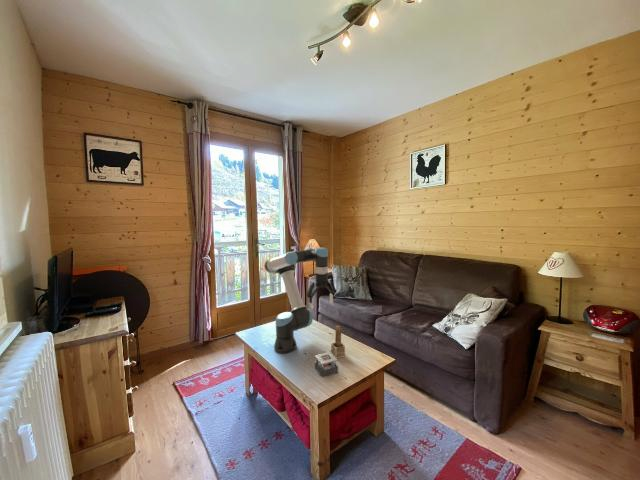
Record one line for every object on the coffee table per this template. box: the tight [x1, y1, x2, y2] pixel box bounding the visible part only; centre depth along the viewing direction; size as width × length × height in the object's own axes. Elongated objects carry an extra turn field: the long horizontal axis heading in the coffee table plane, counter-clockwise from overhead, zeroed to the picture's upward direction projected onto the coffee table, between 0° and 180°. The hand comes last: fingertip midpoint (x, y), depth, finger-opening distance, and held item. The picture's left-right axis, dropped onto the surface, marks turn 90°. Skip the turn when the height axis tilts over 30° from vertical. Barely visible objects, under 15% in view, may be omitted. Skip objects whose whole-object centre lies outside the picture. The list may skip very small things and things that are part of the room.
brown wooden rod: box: [334, 325, 342, 348], centre depth 173 cm, size 4×4×18 cm
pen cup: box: [330, 342, 346, 359], centre depth 174 cm, size 7×7×7 cm
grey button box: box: [314, 351, 339, 378], centre depth 157 cm, size 10×10×8 cm
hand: (321, 305), depth 170 cm, fingers open, 13 cm apart
